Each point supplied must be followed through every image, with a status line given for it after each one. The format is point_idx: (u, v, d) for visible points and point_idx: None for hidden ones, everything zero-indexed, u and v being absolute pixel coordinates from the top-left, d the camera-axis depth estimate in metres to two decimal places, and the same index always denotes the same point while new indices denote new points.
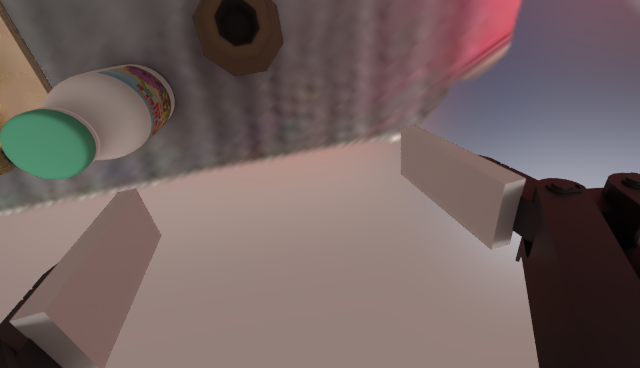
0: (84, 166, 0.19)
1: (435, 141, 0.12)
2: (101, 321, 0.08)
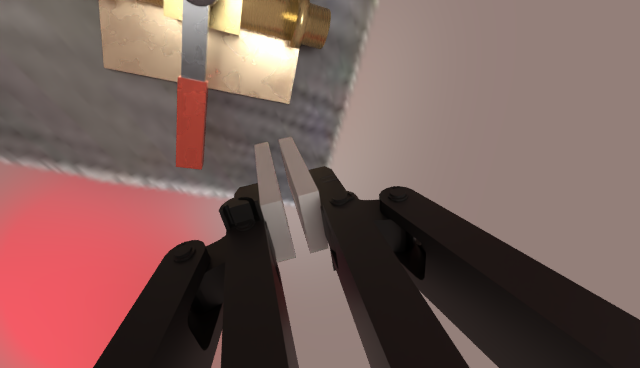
0: None
1: (290, 154, 0.13)
2: None
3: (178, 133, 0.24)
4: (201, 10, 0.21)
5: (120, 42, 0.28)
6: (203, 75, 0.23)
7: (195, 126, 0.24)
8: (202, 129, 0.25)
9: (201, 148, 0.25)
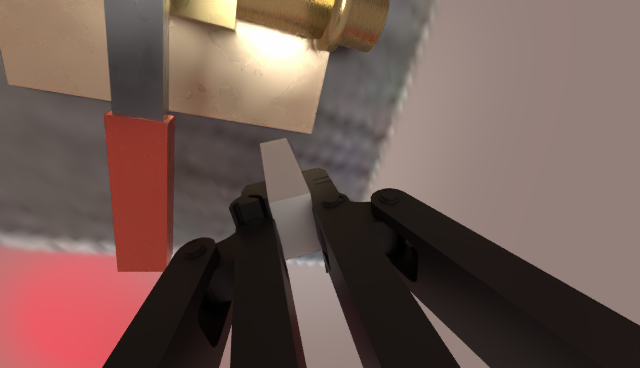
0: None
1: (283, 155, 0.13)
2: None
3: (116, 217, 0.13)
4: None
5: (32, 41, 0.17)
6: (160, 109, 0.11)
7: (150, 203, 0.13)
8: (164, 207, 0.13)
9: (164, 239, 0.14)
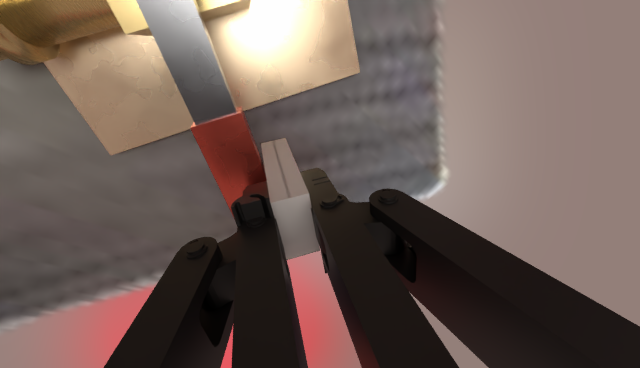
0: None
1: (282, 155, 0.13)
2: None
3: None
4: None
5: (108, 111, 0.19)
6: (230, 102, 0.12)
7: None
8: None
9: None
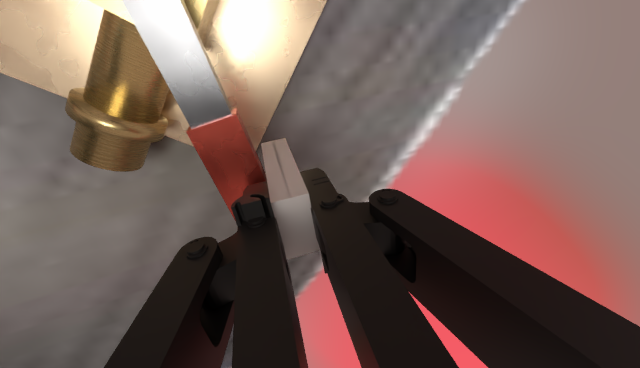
0: None
1: (282, 155, 0.13)
2: None
3: None
4: None
5: None
6: (224, 104, 0.12)
7: None
8: None
9: None
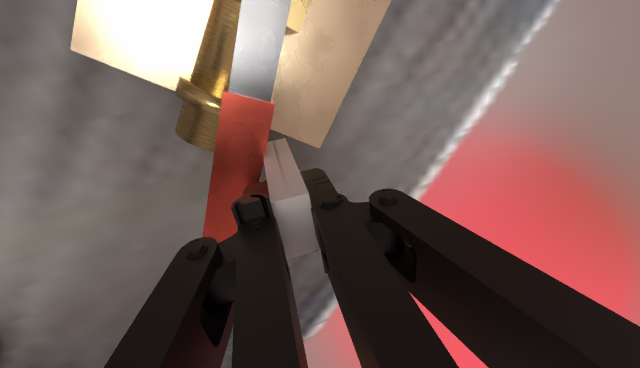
0: None
1: (282, 155, 0.13)
2: None
3: (212, 192, 0.13)
4: None
5: (298, 119, 0.23)
6: (270, 90, 0.12)
7: (244, 180, 0.13)
8: None
9: None
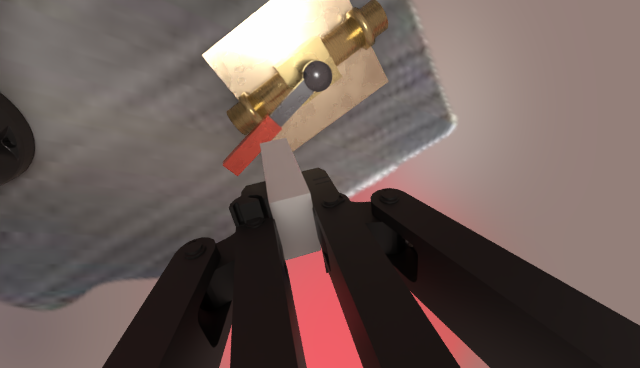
0: None
1: (283, 155, 0.13)
2: None
3: (241, 146, 0.32)
4: (308, 91, 0.31)
5: (282, 137, 0.43)
6: (283, 123, 0.32)
7: (255, 148, 0.33)
8: (258, 152, 0.33)
9: (248, 163, 0.33)
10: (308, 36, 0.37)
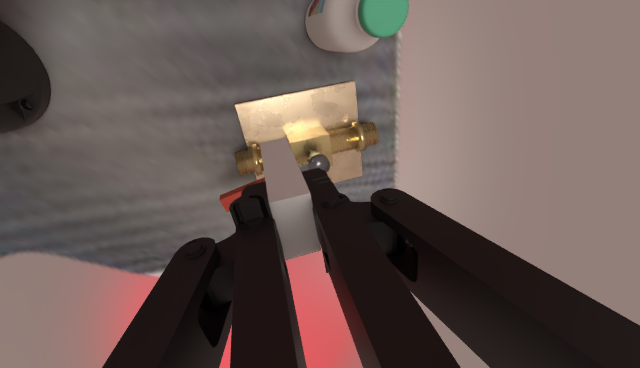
0: None
1: (284, 155, 0.13)
2: None
3: None
4: None
5: None
6: None
7: None
8: None
9: None
10: (319, 124, 0.48)
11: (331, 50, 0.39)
